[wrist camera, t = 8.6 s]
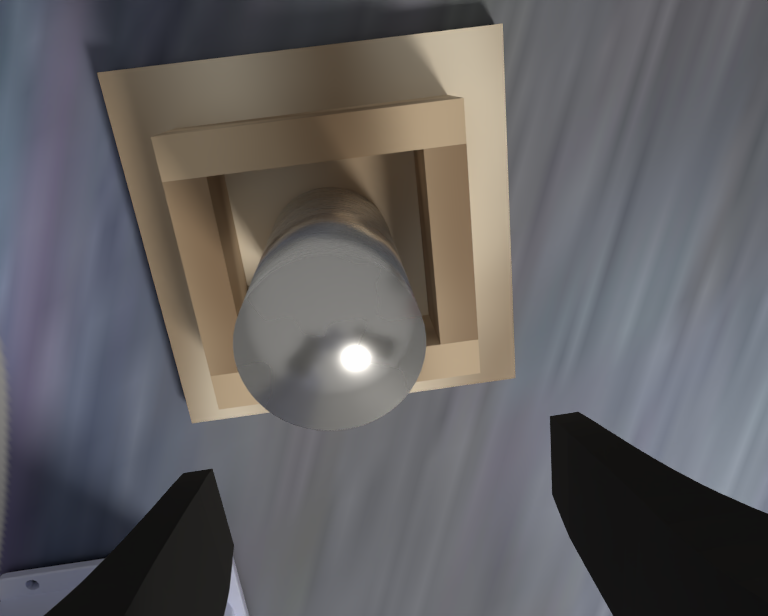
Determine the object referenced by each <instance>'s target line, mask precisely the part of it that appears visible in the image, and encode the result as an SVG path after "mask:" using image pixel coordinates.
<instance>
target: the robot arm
mask: <svg viewBox="0 0 768 616" xmlns="http://www.w3.org/2000/svg"><path fill="white" fill-rule="evenodd" d="M550 432H551V467H552V495H553V498H554V500H555V503H556V505H557V508H558V510H559V513H560V515H561V518H562V520H563V523H564V525H565V528H566V530H567V532H568V535H569V537H570V539H571V541H572V543H573V545H574V546H575V548H576V550H577V552H578V554H579V555H580V557H581V559H582V561H583V563H584V564H585V566H586V568H587V570H588V572H589V573H590V575H591V577H592V579H593V581H594V582H595V584H596V586H597V588H598V589H599V591H600V593H601V595H602V597H603V598H604V600H605V602H606V604H607V605H608V607H609V609H610V611H611V613H612V614H613V616H768V514H767V513H765V512H762V511H760V510H757V509H755V508H752V507H750V506H748V505H745V504H743V503H741V502H739V501H736V500H734V499H732V498H730V497H727V496H725V495H723V494H721V493H718V492H716V491H714V490H712V489H710V488H708V487H706V486H704V485H702V484H700V483H698V482H696V481H694V480H692V479H690V478H689V477H687V476H685V475H683V474H681V473H679V472H677V471H675V470H673V469H672V468H670V467H668V466H666V465H664V464H663V463H661V462H659V461H657V460H656V459H654V458H652V457H651V456H649V455H647V454H646V453H644V452H642V451H641V450H639V449H637V448H636V447H634V446H632V445H631V444H629V443H627V442H626V441H624V440H623V439H621V438H620V437H618V436H616V435H615V434H613V433H612V432H610V431H608V430H607V429H605V428H604V427H602V426H601V425H599V424H597V423H596V422H594V421H593V420H591V419H589V418H588V417H586V416H585V415H583V414H581V413H579V412H574V413H568V414H561V415H555V416H550ZM233 549H234V544H233V540H232V537H231V533H230V530H229V526H228V523H227V519H226V515H225V512H224V508H223V505H222V501H221V498H220V494H219V490H218V487H217V483H216V480H215V476H214V473H213V469H208V470H201V471H195V472H188V473H183V474H182V475H181V476H180V477H179V478H178V479H177V481H176V482H175V483H174V484H173V485H172V486H171V487H170V488H169V489H168V491H167V492H166V493H165V494H164V495H163V496H162V497H161V499H160V500H159V501H158V502H157V503H156V504H155V505H154V506H153V508H152V509H151V510H150V511H149V512H148V513H147V514H146V515H145V517H144V518H143V519H142V520H141V521H140V522H139V523H138V524H137V525H136V526H135V528H134V529H133V530H132V531H131V532H130V533H129V534H128V535H127V536H126V538H125V539H124V540H123V541H122V542H121V543H120V544H119V545H118V546H117V547H116V548H115V549H114V550H113V551H112V552H111V553H110V554H109V555H108V556H107V557H106V558H104V559H97V560H91V561H84V562H77V563H70V564H63V565H57V566H50V567H43V568H36V569H29V570H22V571H16V572H9V573H5V574H2V575H1V576H0V600H1V602H0V616H249V614H248V610H247V606H246V602H245V599H244V595H243V591H242V588H241V584H240V580H239V576H238V573H237V569H236V565H235V561H234V558H233ZM32 580H34V581H37V582H34V581H32Z"/></svg>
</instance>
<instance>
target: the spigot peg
mask: <svg viewBox="0 0 768 616" xmlns="http://www.w3.org/2000/svg"><path fill="white" fill-rule="evenodd" d="M233 352H234V359H235V363H236V366H237V370H238V372H239V375H240V377H241V379H242V381H243V383H244V385H245V386H246V388H247V389H248V391H249V392H250V393H251V395H252V396H253V397H254V398H255V400H256V401H257V402H259V403H260V404H261V405H262V406H263V407H264V408H265V409H266V410H268V411H269V412H271V413H272V414H273V415H275V416H277V417H279V418H280V419H282V420H284V421H286V422H289V423H291V424H294V425H297V426H300V427H304V428H308V429H314V430H325V431H334V430H345V429H350V428H355V427H358V426H362V425H365V424H367V423H370V422H372V421H374V420H376V419H378V418H380V417H382V416H383V415H385V414H387V413H388V412H389V411H391V410H392V409H393V408H395V407H396V406H397V405H398V404H399V403H400V402H401V401H402V400H403V399H404V398H405V397H406V396H407V394H408V393H409V392H410V391H411V389H412V387H413V386H414V384H415V383H416V381H417V379H418V377H419V374H420V372H421V370H422V366H423V363H424V359H425V353H426V332H425V325H424V322H423V318H422V315H421V312H420V309H419V307H418V304H417V302H416V299H415V296H414V294H413V291H412V288H411V286H410V283H409V280H408V278H407V275H406V273H405V270H404V267H403V265H402V262H401V259H400V257H399V254H398V251H397V249H396V246H395V244H394V241H393V238H392V236H391V233H390V230H389V228H388V225H387V223H386V221H385V219H384V217H383V216H382V214H381V212H380V211H379V210H378V209H377V207H376V206H375V205H374V204H373V203H371V202H370V201H369V200H368V199H366V198H365V197H364V196H362V195H360V194H358V193H356V192H354V191H351V190H348V189H344V188H338V187H323V188H317V189H313V190H310V191H307V192H305V193H303V194H301V195H299V196H298V197H296V198H294V199H293V200H292V201H291V202H290V203H288V204H287V205H286V207H285V208H284V209H283V210H282V211H281V213H280V214H279V216H278V218H277V220H276V222H275V224H274V226H273V229H272V231H271V234H270V236H269V239H268V241H267V244H266V246H265V249H264V251H263V254H262V256H261V259H260V261H259V264H258V266H257V269H256V271H255V274H254V276H253V279H252V281H251V284H250V286H249V289H248V291H247V293H246V296H245V298H244V301H243V303H242V306H241V308H240V311H239V314H238V317H237V320H236V323H235V328H234V334H233Z"/></svg>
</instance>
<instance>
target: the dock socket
mask: <svg viewBox="0 0 768 616" xmlns="http://www.w3.org/2000/svg"><path fill="white" fill-rule="evenodd" d="M97 75H98V78H99V82H100V86H101V89H102V93H103V97H104V100H105V104H106V108H107V111H108V115H109V119H110V122H111V126H112V130H113V133H114V137H115V141H116V145H117V148H118V152H119V156H120V159H121V163H122V167H123V170H124V174H125V178H126V181H127V185H128V189H129V192H130V196H131V200H132V203H133V207H134V211H135V214H136V218H137V222H138V226H139V229H140V233H141V237H142V240H143V244H144V248H145V251H146V255H147V259H148V262H149V266H150V270H151V273H152V277H153V281H154V284H155V288H156V292H157V295H158V299H159V303H160V307H161V310H162V314H163V318H164V321H165V325H166V329H167V332H168V336H169V340H170V343H171V347H172V351H173V354H174V358H175V362H176V365H177V369H178V373H179V376H180V380H181V384H182V388H183V391H184V395H185V399H186V402H187V406H188V410H189V413H190V417H191V421H192V423H197V422H204V421H211V420H219V419H226V418H233V417H240V416H247V415H254V414H261V413H269V411H268V410H266V409H265V408H264V407H263V406H262V405H261V404H260V403H259V402H257V401H256V400H255V398H254V397H253V396H252V395H251V393H250V392H249V391H248V389H247V388H246V386H245V385H244V383H243V381H242V379H241V377H240V375H239V372H238V370H237V366H236V363H235V359H234V352H233V334H234V328H235V323H236V320H237V317H238V314H239V311H240V308H241V306H242V303H243V301H244V298H245V296H246V293H247V291H248V289H249V286H250V284H251V281H252V279H253V276H254V274H255V271H256V269H257V266H258V264H259V261H260V259H261V256H262V254H263V251H264V249H265V246H266V244H267V241H268V239H269V236H270V234H271V231H272V229H273V226H274V224H275V222H276V220H277V218H278V216H279V214H280V213H281V211H282V210H283V209H284V208H285V207H286V205H287V204H288V203H290V202H291V201H292V200H293V199H294V198H296V197H298V196H299V195H301V194H303V193H305V192H307V191H310V190H313V189H317V188H323V187H338V188H344V189H348V190H351V191H354V192H356V193H358V194H360V195H362V196H364V197H365V198H366V199H368V200H369V201H370V202H371V203H373V204H374V205H375V206H376V207H377V209H378V210H379V211H380V212H381V214H382V216H383V217H384V219H385V221H386V223H387V225H388V228H389V230H390V233H391V236H392V238H393V241H394V244H395V246H396V249H397V251H398V254H399V257H400V259H401V262H402V265H403V267H404V270H405V273H406V275H407V278H408V280H409V283H410V286H411V288H412V291H413V294H414V296H415V299H416V302H417V304H418V307H419V309H420V312H421V315H422V318H423V322H424V325H425V332H426V353H425V359H424V363H423V366H422V370H421V372H420V374H419V377H418V379H417V381H416V383H415V384H414V386H413V387H412V389H411V391H410V392H409V393H411V392H419V391H426V390H433V389H440V388H447V387H454V386H461V385H468V384H476V383H483V382H490V381H497V380H504V379H511V378H515V355H514V327H513V299H512V272H511V244H510V216H509V188H508V161H507V133H506V105H505V78H504V50H503V24H495V25H487V26H479V27H470V28H462V29H454V30H446V31H437V32H429V33H421V34H412V35H404V36H396V37H388V38H379V39H371V40H363V41H355V42H346V43H338V44H330V45H321V46H313V47H305V48H297V49H288V50H280V51H272V52H263V53H255V54H247V55H239V56H230V57H222V58H214V59H206V60H197V61H189V62H181V63H172V64H164V65H156V66H148V67H139V68H131V69H123V70H114V71H106V72H98V73H97Z"/></svg>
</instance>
